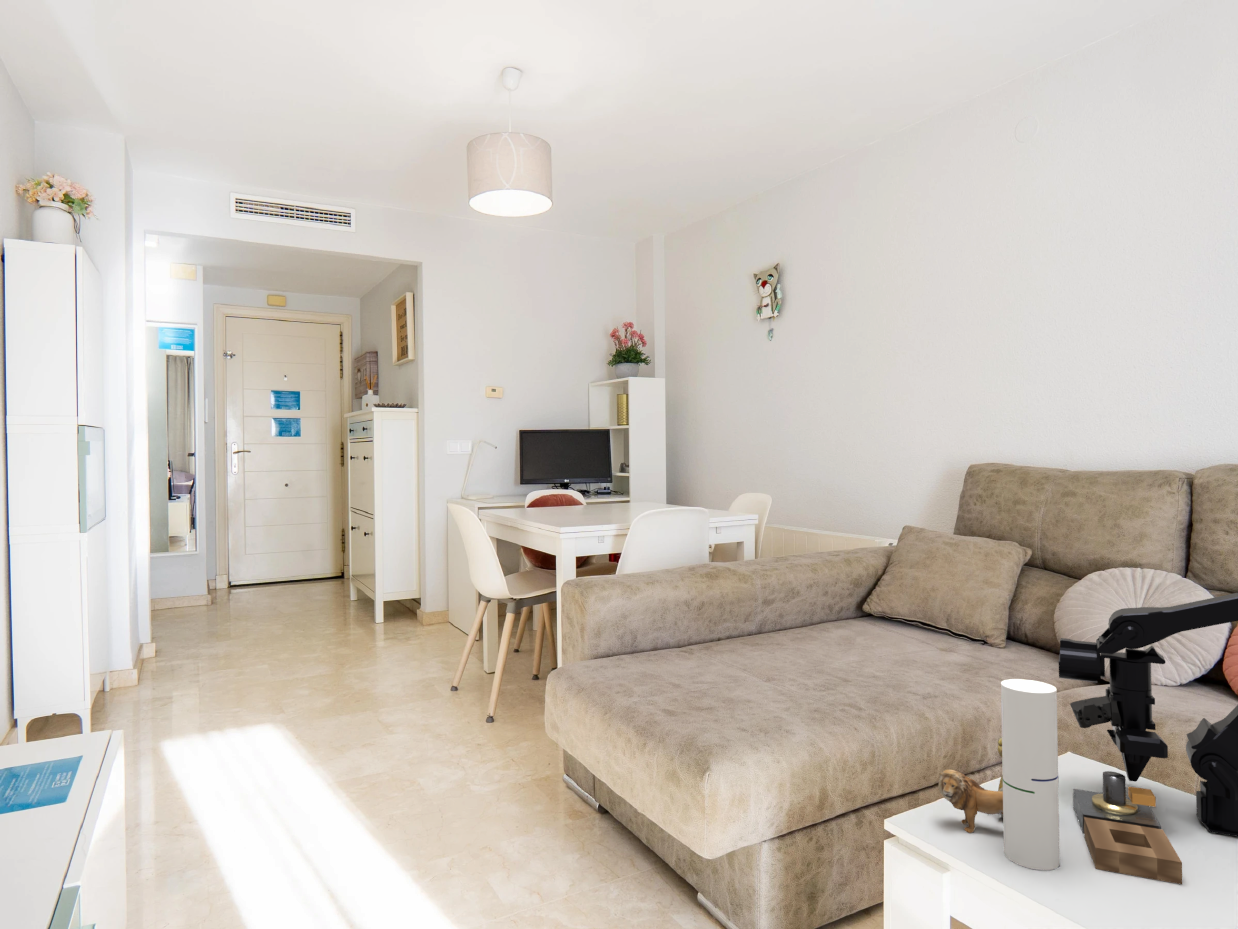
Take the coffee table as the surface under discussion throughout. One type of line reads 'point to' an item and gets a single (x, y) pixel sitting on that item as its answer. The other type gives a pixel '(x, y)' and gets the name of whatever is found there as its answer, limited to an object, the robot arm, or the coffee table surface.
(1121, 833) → the rack block
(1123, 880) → the coffee table surface
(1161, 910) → the coffee table surface
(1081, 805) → the socket block
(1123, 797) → the dark flanged cylinder
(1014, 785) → the cylindrical container
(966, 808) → the lion figurine
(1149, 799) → the cardboard box
